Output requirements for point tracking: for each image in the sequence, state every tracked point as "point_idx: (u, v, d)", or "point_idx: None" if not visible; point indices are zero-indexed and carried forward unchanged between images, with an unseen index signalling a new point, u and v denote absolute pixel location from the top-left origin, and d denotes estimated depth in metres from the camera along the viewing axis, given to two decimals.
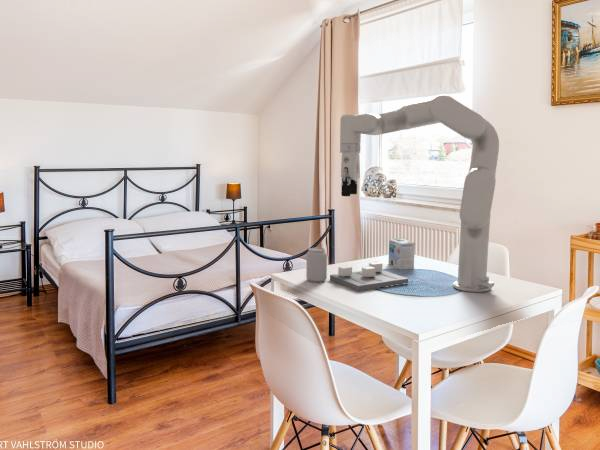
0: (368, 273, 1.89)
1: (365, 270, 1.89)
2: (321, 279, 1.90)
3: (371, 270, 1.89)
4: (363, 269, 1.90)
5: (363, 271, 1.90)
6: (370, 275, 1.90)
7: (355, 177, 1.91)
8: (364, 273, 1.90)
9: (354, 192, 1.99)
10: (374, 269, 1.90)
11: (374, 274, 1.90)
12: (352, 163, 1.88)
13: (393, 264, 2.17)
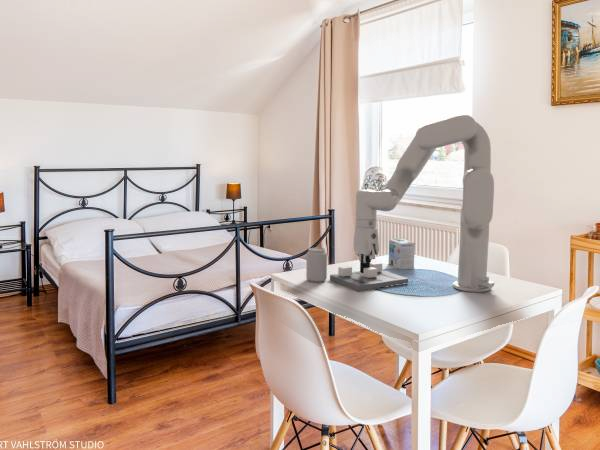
0: (370, 273, 1.88)
1: (367, 271, 1.88)
2: (321, 279, 1.90)
3: (373, 271, 1.89)
4: (365, 270, 1.89)
5: (365, 272, 1.89)
6: (372, 276, 1.89)
7: None
8: (365, 274, 1.89)
9: None
10: (376, 270, 1.89)
11: (376, 275, 1.89)
12: (378, 239, 1.88)
13: (393, 264, 2.17)
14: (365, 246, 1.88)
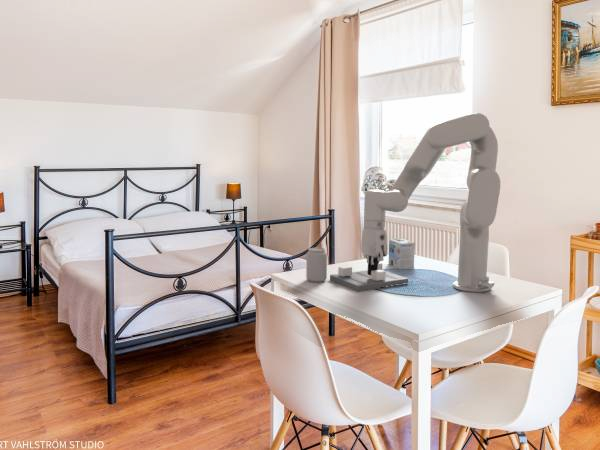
0: (378, 276, 1.84)
1: (375, 273, 1.84)
2: (321, 279, 1.90)
3: (381, 273, 1.85)
4: (373, 272, 1.85)
5: (373, 274, 1.85)
6: (380, 278, 1.85)
7: None
8: (373, 277, 1.85)
9: None
10: (384, 272, 1.85)
11: (384, 277, 1.85)
12: (386, 240, 1.84)
13: (393, 264, 2.17)
14: (373, 248, 1.84)
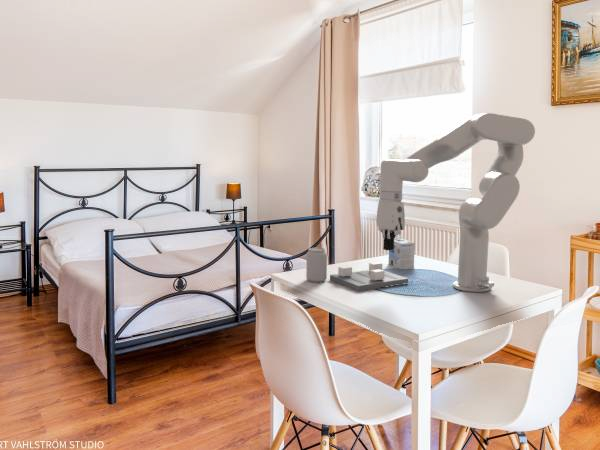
0: (377, 276, 1.85)
1: (374, 273, 1.85)
2: (321, 279, 1.90)
3: (380, 273, 1.85)
4: (371, 272, 1.86)
5: (371, 274, 1.86)
6: (379, 278, 1.85)
7: None
8: (372, 276, 1.86)
9: None
10: (383, 272, 1.86)
11: (383, 277, 1.86)
12: (404, 213, 1.75)
13: (393, 264, 2.17)
14: (390, 220, 1.74)
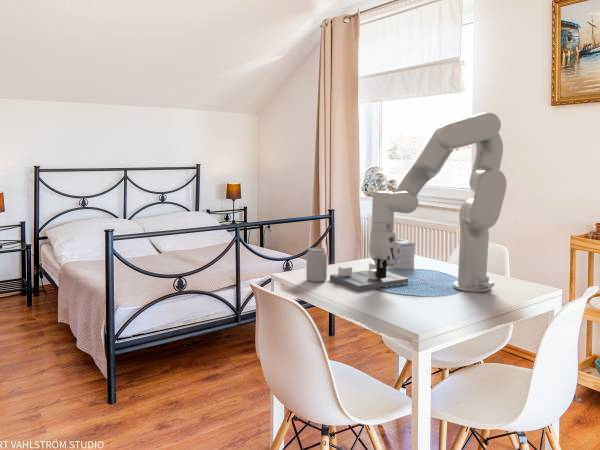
0: (375, 275, 1.86)
1: (372, 272, 1.86)
2: (321, 279, 1.90)
3: None
4: (370, 271, 1.87)
5: (370, 273, 1.87)
6: None
7: None
8: (370, 276, 1.87)
9: None
10: None
11: None
12: (395, 242, 1.80)
13: (393, 264, 2.17)
14: (382, 250, 1.79)
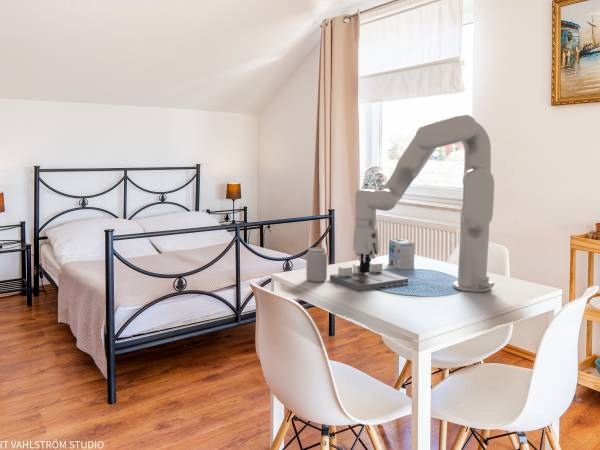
0: (359, 269, 1.94)
1: (356, 267, 1.94)
2: (321, 279, 1.90)
3: None
4: (354, 266, 1.95)
5: (354, 268, 1.95)
6: None
7: None
8: (354, 270, 1.95)
9: None
10: None
11: None
12: (377, 238, 1.88)
13: (393, 264, 2.17)
14: (365, 246, 1.88)
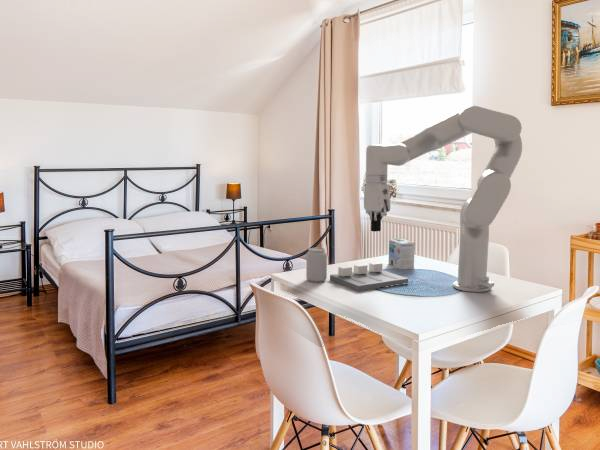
0: (360, 270, 1.93)
1: (357, 267, 1.93)
2: (321, 279, 1.90)
3: (363, 267, 1.94)
4: (355, 266, 1.94)
5: (355, 268, 1.95)
6: (362, 272, 1.94)
7: None
8: (355, 271, 1.94)
9: None
10: (366, 266, 1.94)
11: (366, 271, 1.95)
12: (389, 195, 1.83)
13: (393, 264, 2.17)
14: (376, 202, 1.82)
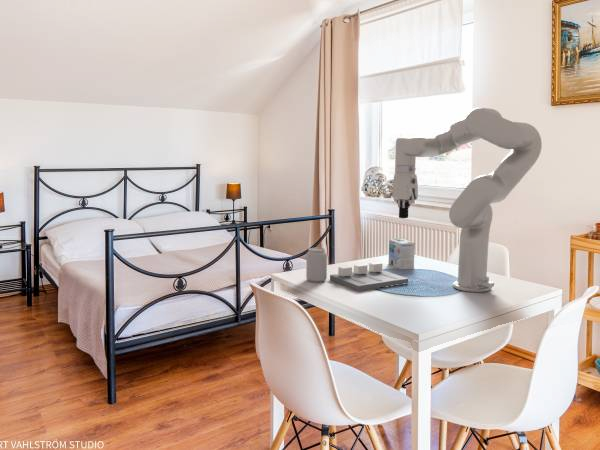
0: (360, 270, 1.93)
1: (357, 267, 1.93)
2: (321, 279, 1.90)
3: (363, 267, 1.94)
4: (355, 266, 1.94)
5: (355, 268, 1.95)
6: (362, 272, 1.94)
7: None
8: (355, 271, 1.94)
9: None
10: (366, 266, 1.94)
11: (366, 271, 1.95)
12: (417, 184, 1.96)
13: (393, 264, 2.17)
14: (405, 191, 1.96)
